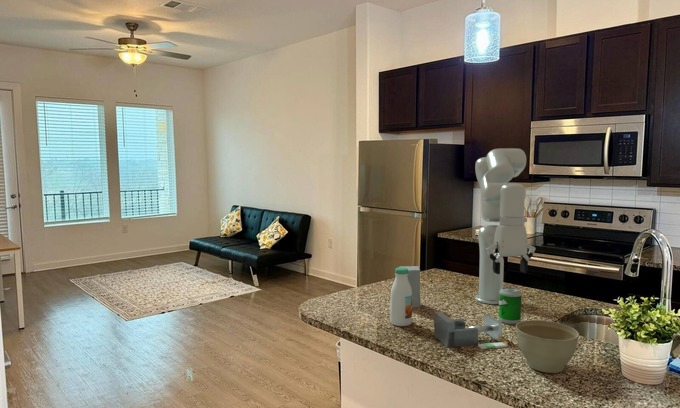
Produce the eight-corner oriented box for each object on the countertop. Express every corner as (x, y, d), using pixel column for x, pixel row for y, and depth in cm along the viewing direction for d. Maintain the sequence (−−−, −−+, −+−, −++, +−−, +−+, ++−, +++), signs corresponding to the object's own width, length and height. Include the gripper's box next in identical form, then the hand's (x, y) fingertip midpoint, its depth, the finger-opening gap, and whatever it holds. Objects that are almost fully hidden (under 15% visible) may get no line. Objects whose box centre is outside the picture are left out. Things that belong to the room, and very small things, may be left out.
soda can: (520, 319, 169) (521, 287, 167) (521, 326, 161) (522, 293, 160) (498, 317, 171) (499, 285, 170) (498, 323, 164) (499, 291, 163)
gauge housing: (462, 333, 155) (463, 310, 154) (477, 344, 145) (478, 320, 144) (434, 335, 153) (434, 312, 152) (447, 347, 143) (447, 322, 142)
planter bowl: (590, 375, 124) (592, 336, 123) (541, 383, 120) (542, 343, 119) (548, 351, 140) (549, 317, 139) (502, 358, 135) (504, 322, 134)
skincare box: (419, 303, 188) (419, 265, 186) (420, 309, 181) (421, 269, 179) (398, 302, 188) (398, 265, 187) (399, 308, 181) (399, 269, 180)
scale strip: (503, 343, 146) (503, 341, 146) (508, 346, 143) (508, 344, 143) (477, 346, 144) (477, 344, 144) (481, 349, 142) (481, 347, 142)
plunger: (487, 330, 156) (487, 313, 156) (508, 346, 143) (509, 327, 143) (462, 333, 154) (462, 315, 154) (482, 348, 141) (482, 329, 141)
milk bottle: (398, 328, 160) (398, 271, 158) (386, 321, 167) (386, 267, 165) (416, 324, 163) (417, 269, 161) (403, 318, 170) (404, 265, 168)
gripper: (529, 220, 156) (527, 269, 157) (481, 221, 153) (480, 271, 155) (542, 222, 149) (540, 274, 150) (492, 223, 146) (491, 276, 147)
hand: (510, 272), depth 152 cm, fingers open, 9 cm apart
